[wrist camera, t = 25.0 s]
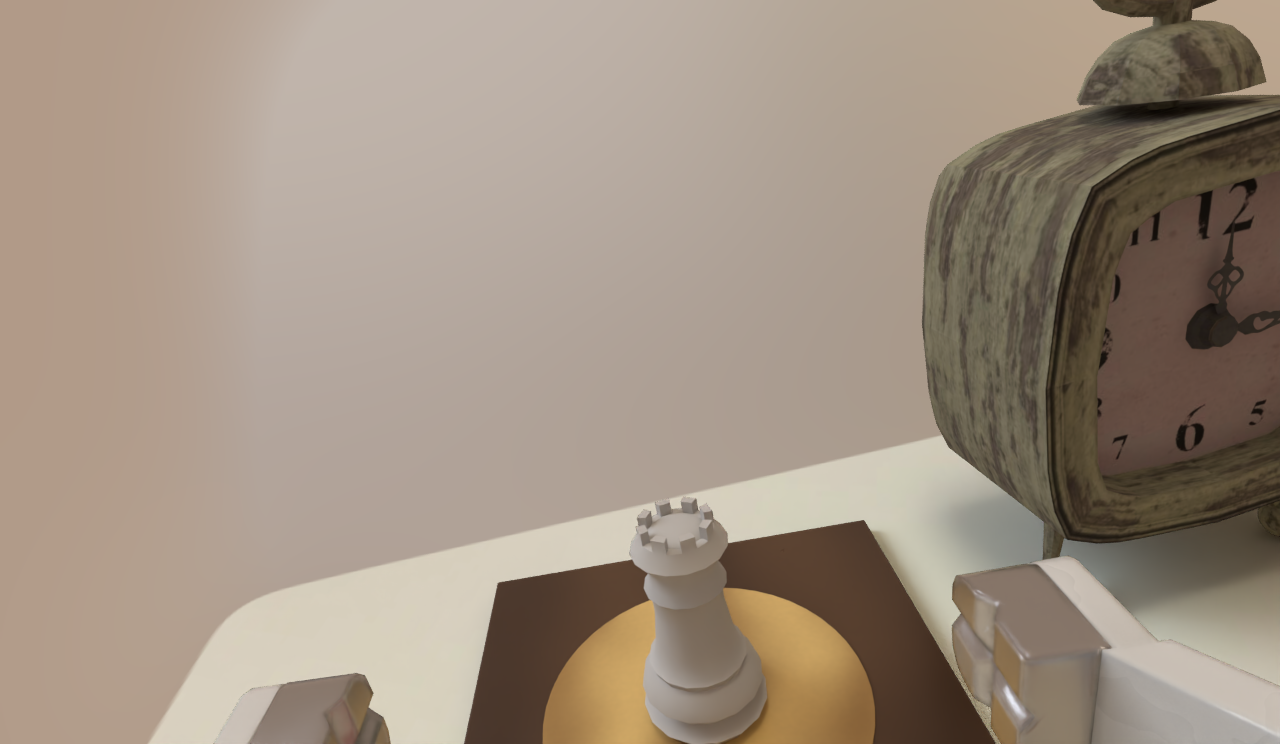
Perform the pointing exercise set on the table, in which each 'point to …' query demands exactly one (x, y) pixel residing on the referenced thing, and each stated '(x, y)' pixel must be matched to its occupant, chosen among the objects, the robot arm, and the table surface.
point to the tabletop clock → (1119, 293)
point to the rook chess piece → (694, 630)
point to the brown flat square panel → (764, 612)
